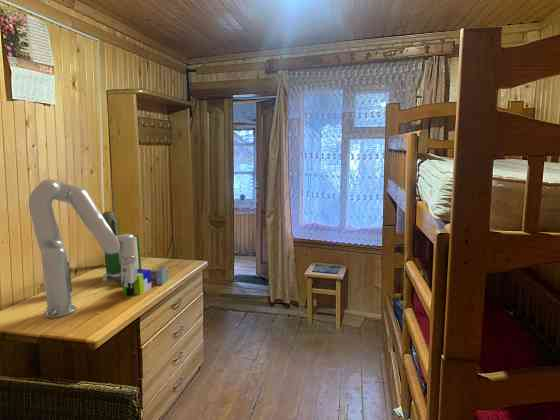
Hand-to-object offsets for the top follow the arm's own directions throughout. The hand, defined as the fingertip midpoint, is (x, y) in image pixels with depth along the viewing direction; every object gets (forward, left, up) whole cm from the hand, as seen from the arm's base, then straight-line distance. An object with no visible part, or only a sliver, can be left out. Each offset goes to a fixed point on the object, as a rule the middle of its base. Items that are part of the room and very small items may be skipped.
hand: (130, 295), depth 190 cm
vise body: (+23, +4, -1) cm, 24 cm away
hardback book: (+35, +16, -1) cm, 39 cm away
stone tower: (+61, +33, -1) cm, 69 cm away
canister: (+8, +38, -1) cm, 39 cm away
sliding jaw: (+22, +15, -1) cm, 27 cm away
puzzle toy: (+10, 0, -2) cm, 10 cm away
